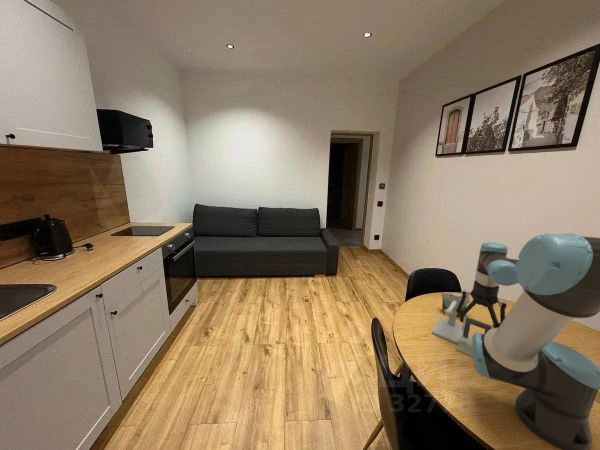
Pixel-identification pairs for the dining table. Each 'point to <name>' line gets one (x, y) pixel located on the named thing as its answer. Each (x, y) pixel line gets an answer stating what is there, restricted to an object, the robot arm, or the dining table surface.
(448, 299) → the food container
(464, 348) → the mat
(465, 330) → the link
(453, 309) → the stand
